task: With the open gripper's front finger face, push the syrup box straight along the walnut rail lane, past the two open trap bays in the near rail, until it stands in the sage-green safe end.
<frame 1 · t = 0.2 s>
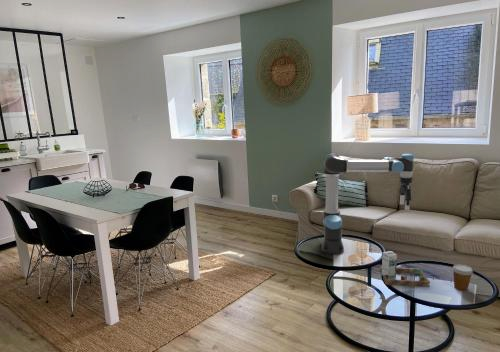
hand: (404, 207, 253), 28 cm above the table, fingers open, 13 cm apart
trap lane: (401, 276, 213), on the table
syrup box: (388, 276, 214), on the table
disposable coffee cup: (460, 288, 199), on the table
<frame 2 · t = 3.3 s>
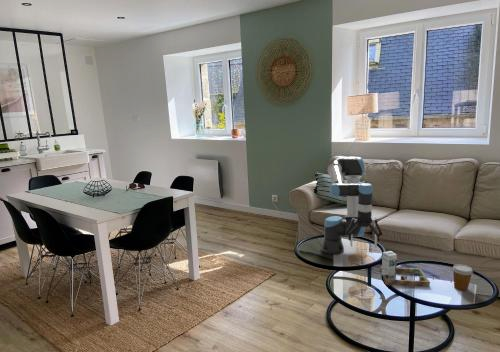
hand: (363, 246, 212), 18 cm above the table, fingers open, 13 cm apart
nothing on the table moved.
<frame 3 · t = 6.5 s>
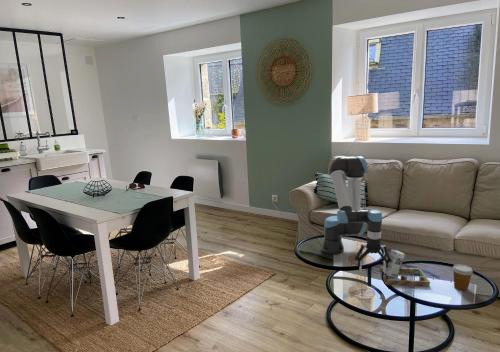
hand: (372, 272, 214), 2 cm above the table, fingers open, 13 cm apart
syrup box: (390, 275, 214), point 1 cm above the table, touching gripper, hand
everything else where it was.
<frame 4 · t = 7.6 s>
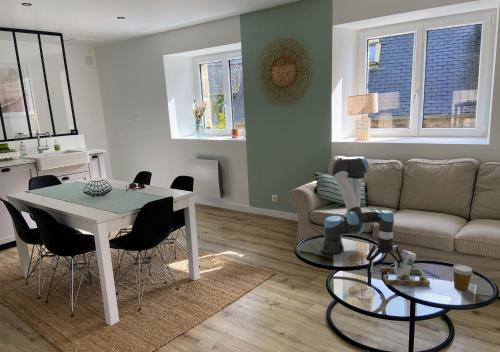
hand: (383, 272, 213), 3 cm above the table, fingers open, 13 cm apart
syrup box: (401, 275, 213), point 1 cm above the table, touching gripper, hand
everything else where it was.
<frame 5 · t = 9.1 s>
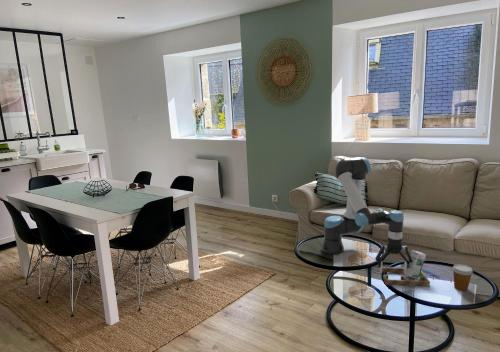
hand: (392, 272, 213), 3 cm above the table, fingers open, 13 cm apart
syrup box: (410, 276, 212), point 1 cm above the table, touching gripper, hand
everything else where it was.
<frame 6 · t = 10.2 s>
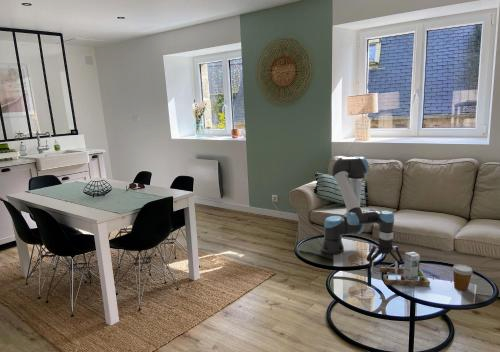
hand: (383, 272, 214), 2 cm above the table, fingers open, 13 cm apart
syrup box: (410, 277, 212), on the table
everything else where it was.
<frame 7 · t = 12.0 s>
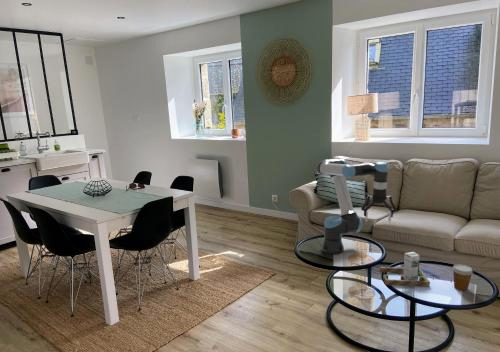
hand: (377, 221, 225), 28 cm above the table, fingers open, 13 cm apart
nothing on the table moved.
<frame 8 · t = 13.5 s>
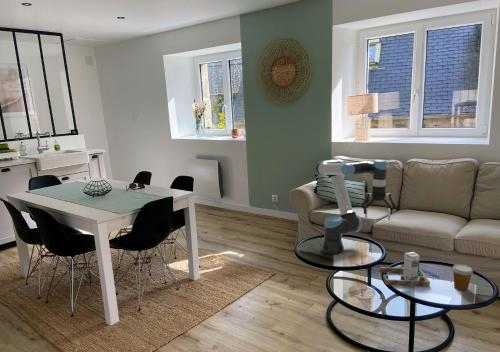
hand: (377, 219, 226), 29 cm above the table, fingers open, 13 cm apart
nothing on the table moved.
at the end: syrup box inside the target area on the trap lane (1.8 cm from its centre), point 0.0 cm above the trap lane's base; syrup box tilted 0° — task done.
